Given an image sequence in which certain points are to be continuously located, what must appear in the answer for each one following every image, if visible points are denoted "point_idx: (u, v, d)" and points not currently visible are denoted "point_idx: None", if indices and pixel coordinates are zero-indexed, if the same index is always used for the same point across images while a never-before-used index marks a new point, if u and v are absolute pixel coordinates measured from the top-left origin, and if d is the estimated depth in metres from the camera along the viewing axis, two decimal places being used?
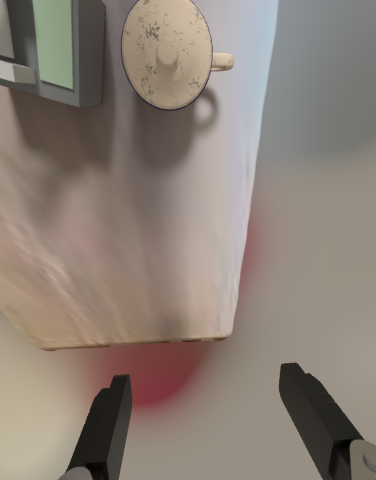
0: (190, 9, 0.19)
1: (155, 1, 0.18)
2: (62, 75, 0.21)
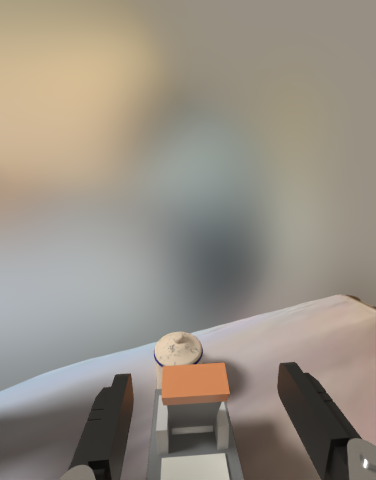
0: (159, 342, 0.41)
1: (160, 353, 0.38)
2: None
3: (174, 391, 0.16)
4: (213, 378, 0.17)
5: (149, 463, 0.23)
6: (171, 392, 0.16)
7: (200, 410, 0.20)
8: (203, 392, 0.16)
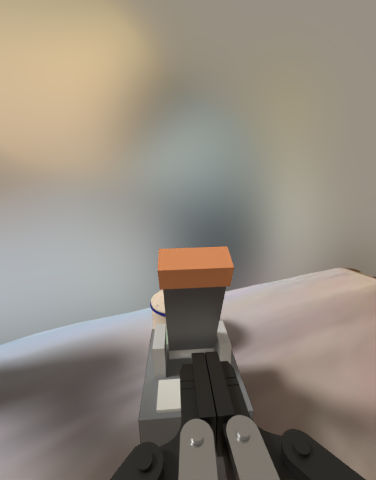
0: (155, 294, 0.39)
1: (156, 302, 0.36)
2: None
3: (172, 266, 0.15)
4: (215, 257, 0.15)
5: (145, 385, 0.21)
6: (168, 266, 0.14)
7: (200, 312, 0.18)
8: (204, 266, 0.15)
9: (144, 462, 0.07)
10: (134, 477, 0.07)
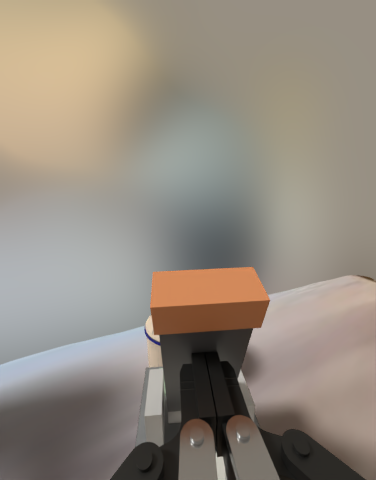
0: (151, 316, 0.33)
1: (152, 328, 0.30)
2: None
3: (173, 299, 0.09)
4: (238, 283, 0.10)
5: None
6: (167, 300, 0.09)
7: None
8: (224, 299, 0.09)
9: (144, 462, 0.07)
10: (134, 477, 0.07)
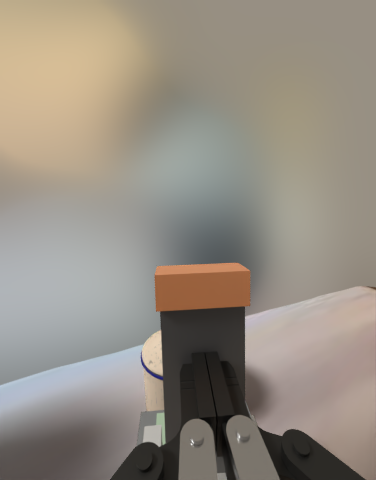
0: (148, 340, 0.29)
1: (149, 356, 0.26)
2: None
3: (172, 273, 0.12)
4: (225, 267, 0.13)
5: None
6: (168, 273, 0.12)
7: None
8: (213, 271, 0.12)
9: (144, 461, 0.07)
10: (134, 477, 0.07)
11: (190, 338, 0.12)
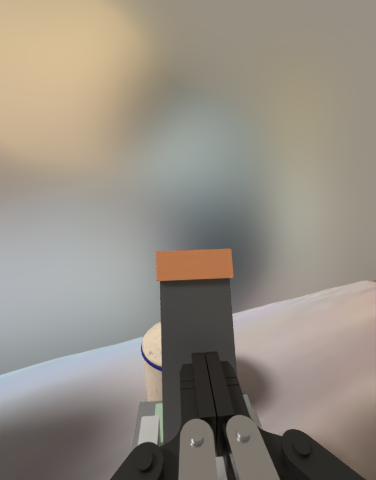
0: (149, 331, 0.28)
1: (149, 347, 0.26)
2: None
3: None
4: None
5: None
6: (167, 251, 0.15)
7: (207, 335, 0.14)
8: None
9: (144, 462, 0.07)
10: (134, 477, 0.07)
11: (185, 307, 0.14)
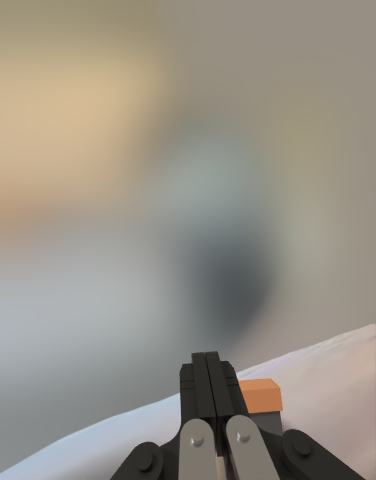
0: None
1: None
2: None
3: None
4: (265, 383, 0.22)
5: None
6: None
7: None
8: (259, 388, 0.21)
9: (144, 461, 0.07)
10: (134, 477, 0.07)
11: None
